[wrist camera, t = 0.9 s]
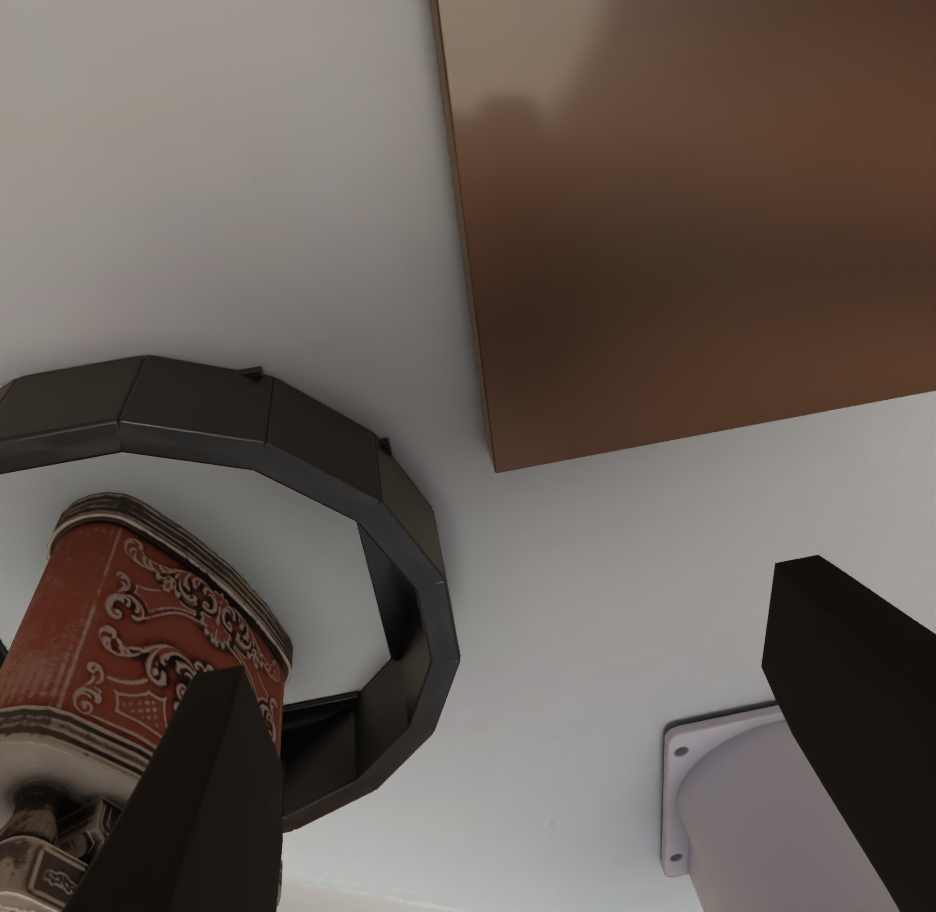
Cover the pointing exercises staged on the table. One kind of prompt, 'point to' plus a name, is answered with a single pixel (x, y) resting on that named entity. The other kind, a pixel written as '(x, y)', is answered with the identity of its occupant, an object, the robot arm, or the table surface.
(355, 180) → the table surface
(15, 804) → the lighter
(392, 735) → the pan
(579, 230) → the board
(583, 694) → the table surface
